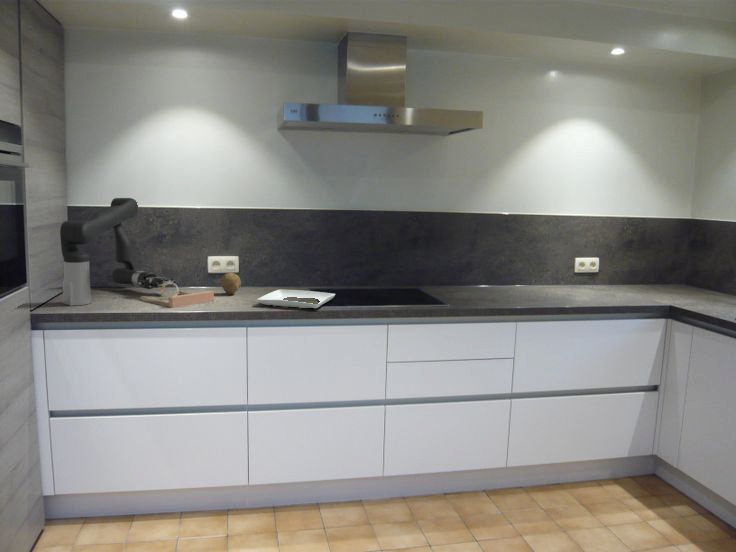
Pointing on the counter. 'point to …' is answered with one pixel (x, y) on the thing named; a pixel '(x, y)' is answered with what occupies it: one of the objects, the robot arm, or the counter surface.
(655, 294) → the counter surface
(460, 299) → the counter surface
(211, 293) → the bar
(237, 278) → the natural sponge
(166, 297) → the ring
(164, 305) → the birch track
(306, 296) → the square plate
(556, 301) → the counter surface
